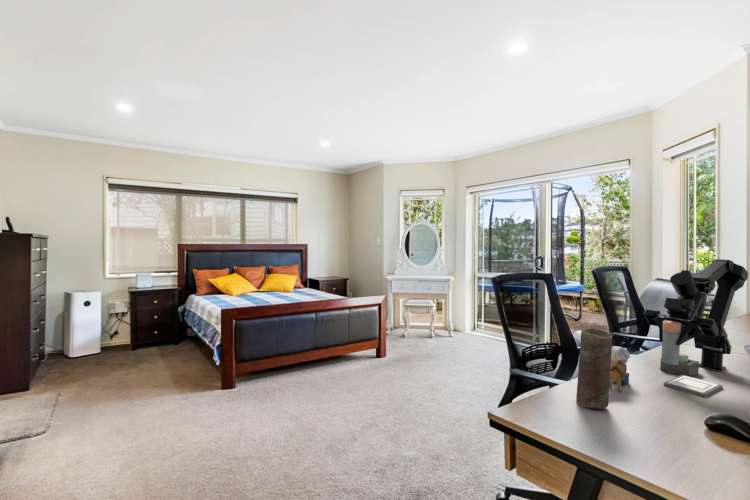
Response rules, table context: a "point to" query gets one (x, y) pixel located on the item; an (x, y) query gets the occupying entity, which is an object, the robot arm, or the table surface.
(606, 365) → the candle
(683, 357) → the button
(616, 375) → the lion figurine
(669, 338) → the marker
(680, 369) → the button housing
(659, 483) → the table surface
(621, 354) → the watch
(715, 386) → the board
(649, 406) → the table surface
